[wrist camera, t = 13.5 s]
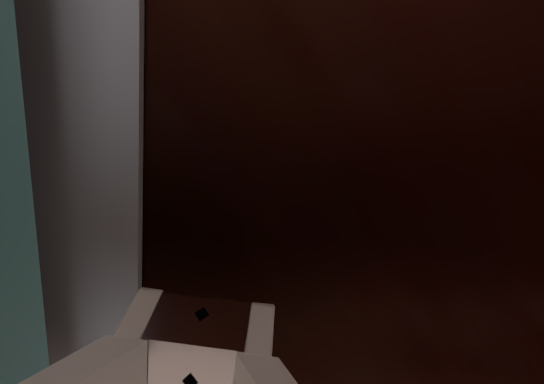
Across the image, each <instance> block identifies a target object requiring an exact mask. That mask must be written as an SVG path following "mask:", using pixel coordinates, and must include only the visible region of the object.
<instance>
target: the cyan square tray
mask: <svg viewBox="0 0 544 384" xmlns="http://www.w3.org/2000/svg"><path fill="white" fill-rule="evenodd" d="M47 367H49V356H48V346H47V336H46V325H45V315H44V305H43V295H42V285H41V274H40V264H39V254H38V244H37V234H36V223H35V213H34V203H33V193H32V183H31V172H30V162H29V152H28V142H27V132H26V121H25V111H24V101H23V91H22V81H21V70H20V60H19V50H18V40H17V30H16V19H15V9H14V0H0V384H18V383H20V382H22V381H23V380H25V379H27V378H29V377H31V376H33V375H34V374H36V373H38V372H40V371H42V370H43V369H45V368H47Z"/></svg>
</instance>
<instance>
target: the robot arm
mask: <svg viewBox="0 0 544 384" xmlns="http://www.w3.org/2000/svg"><path fill="white" fill-rule="evenodd" d="M250 310H251V311H250ZM274 314H275V306H274V304H265V303H256V302H252V305H251V303H248V302H241V301H233V300H225V299H217V298H210V297H205V296H199V295H192V294H186V293H179V292H173V291H167V290H165V291H163V290H159V289H152V288H145V287H142V288H141V289H139V290H138V292H137V293H136V295H135V297H134V299H133V300H132V302H131V304H130V306H129V308H128V309H127V311H126V313H125V315H124V317H123V318H122V320H121V322H120V324H119V325H118V327H117V329H116V331H115V333H114V334H113V336H112V335H105V336H103V337H101V338H99V339H97V340H96V341H94V342H92V343H90V344H88V345H87V346H85V347H83V348H81V349H79V350H78V351H76V352H74V353H72V354H70V355H69V356H67V357H65V358H63V359H61V360H60V361H58V362H56V363H54V364H52V365H51V366H49V367H47V368H45V369H43V370H42V371H40V372H38V373H36V374H34V375H33V376H31V377H29V378H27V379H25V380H23V381H22V382H20V383H18V384H298V383H297V382H296V381H295V379H294V378H293V376H292V375H291V374H290V372H289V371H288V370H287V368H286V367H285V366H284V364H283V363H282V362H281V360H280V359H279V358H278V357H272V345H273V329H274ZM249 318H250V319H249Z"/></svg>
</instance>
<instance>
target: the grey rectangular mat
mask: <svg viewBox="0 0 544 384" xmlns="http://www.w3.org/2000/svg"><path fill="white" fill-rule="evenodd" d="M14 9H15V19H16V30H17V40H18V50H19V60H20V70H21V81H22V91H23V101H24V111H25V121H26V132H27V142H28V152H29V162H30V172H31V183H32V193H33V203H34V213H35V223H36V234H37V244H38V254H39V264H40V274H41V285H42V295H43V305H44V315H45V325H46V336H47V346H48V356H49V366H51V365H52V364H54V363H56V362H58V361H60V360H61V359H63V358H65V357H67V356H69V355H70V354H72V353H74V352H76V351H78V350H79V349H81V348H83V347H85V346H87V345H88V344H90V343H92V342H94V341H96V340H97V339H99V338H101V337H103V336H105V335H112V336H113V334H114V333H115V331H116V329H117V327H118V325H119V324H120V322H121V320H122V318H123V317H124V315H125V313H126V311H127V309H128V308H129V306H130V304H131V302H132V300H133V299H134V297H135V295H136V293H137V292H138V290H139V289H141V288H142V218H143V108H144V0H14Z"/></svg>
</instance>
